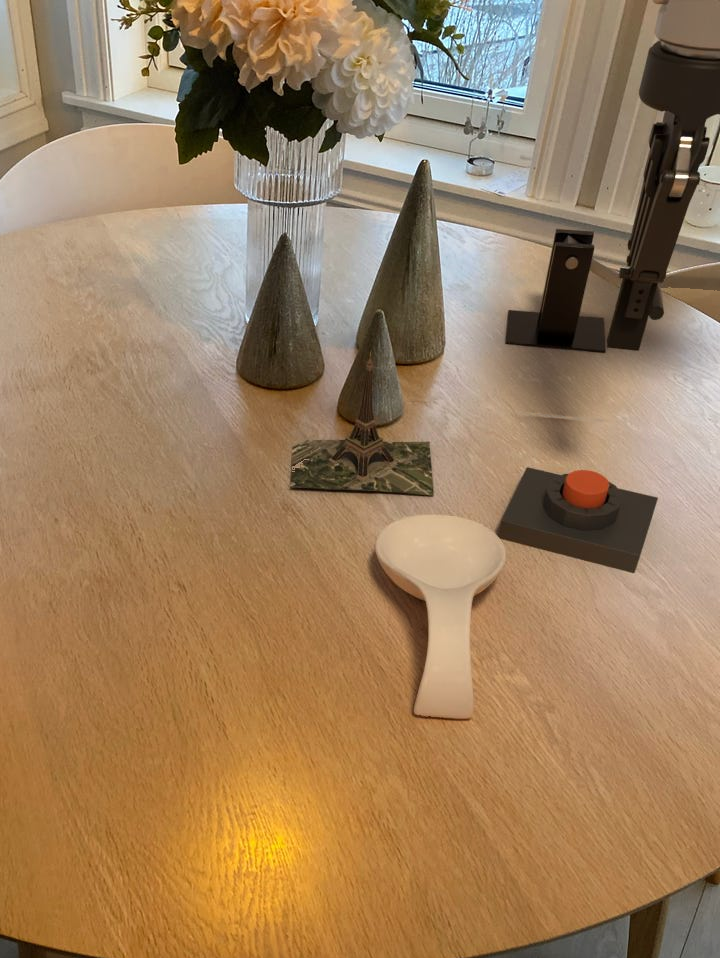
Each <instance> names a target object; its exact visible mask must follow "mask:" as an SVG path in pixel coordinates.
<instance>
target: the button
mask: <svg viewBox="0 0 720 958" xmlns="http://www.w3.org/2000/svg"><path fill="white" fill-rule="evenodd" d="M567 474H568V476H567V477H566V480H565V484H564V488H563V492H562V495H563V498H564V499H565V500H566V501H567V502H569V503H570V504H572V505H575V506H580V507H584V508H596V507H600V506H601V505H603V503H604V502H605V499H606V496H607V492H608V489H609V482H610V481H609V480H608V478H607V477H606V476H604V475H603V474H601V473H599V472H597V471H593V470H588V469H578V470H574V471H571V472H570V473H567ZM608 481H609V482H608Z"/></svg>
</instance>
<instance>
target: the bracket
mask: <svg viewBox="0 0 720 958" xmlns="http://www.w3.org/2000/svg"><path fill="white" fill-rule="evenodd" d="M568 235H569V236H570V237H572V238H574V239H576V240H577V241H579V242H581V243H582V244H576V243H563V242H564V240H565V239H566V238H567V236H568ZM594 236H595V232H594V230H593V231H592V230H577V229H564V228H562V229H561V228H555V231H554V237H553V242H552V247H551V250H550V251H551V252H550V255H549V256H550V257H549V262H548V267H547V272H546V277H545V281H544V287H543V292H542V297H541V302H540V308H539V311H526V310H514V309H508V310H507V319H506V327H505V328H506V329H505V341H504V345H508V346H509V345H510V346H520V347H521V346H522V347H530V348H531V347H532V348H543V349H555V350H564V351H577V352H589V353H599V354H606V353H607V352H606V351H607V344H606V329H605V318H604V317H599V316H587V315H580V314H581V309H582V305H583V302H584V296H585V291H586V288H587V283H588V278H589V274H590V271H589V270H590V266H591V261H592V259H593V257H594V251H595V244H593V242H594V241H593V240H594Z"/></svg>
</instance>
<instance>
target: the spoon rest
mask: <svg viewBox="0 0 720 958" xmlns="http://www.w3.org/2000/svg"><path fill="white" fill-rule="evenodd" d="M374 550H375V551H374V552H375V555H376V557H377V560H378V562H379V564H380V566H381V568H382V569H383V571H384V572H385V573H386V575H387V576H388V577H389V579H390V580H391V581H392V582H393V583H394V584H395V585H397V587H399V588H400V589H401V590H403V591H404V592H406V593H408V594H409V595H411V596H413V597H414V598H416V599H418V600H421V601H422V602H425V606H426V614H427V625H428V626H427V627H428V628H427V629H428V632H427V633H428V635H427V636H428V637H427V638H428V639H427V651H426V657H425V663H424V667H423V673H422V675H421V680H420V683H419V687H418V691H417V694H416V698H415V701H414V706H413V714H415V715H416V716H419V715H421V716H420V717H428V716H431V718H442V717H443V718H444V719H457V720H458V719H459V720H462V719H463V720H464V719H471V718H473V716H474V712H475V711H474V709H475V694H474V692H475V691H474V682H473V670H472V655H471V654H472V653H471V626H472V625H471V621H472V608H473V607H472V606H473V599H474V597H475V596H476V595H478V594H480V593H481V592H483V591H484V590H485V589H487V588H488V587H489V586H491V584H492V583H494V581H495V580H496V579H497V578H498V577H499V576H500V574H501V573H502V572H503V569H504V568H505V566H506V562H507V556H508V555H507V549H506V546H505V544H504V543H503V541H502V539H500V538H499V537H498V534H496V533H495V532H494V531H493V530H491V529H490V528H489V527H487V526H486V525H483V524H482V523H480V522H477V521H475V520H472V519H470V518H466V517H462V516H456V515H452V514H439V513H438V514H435V513H433V514H431V513H427V514H426V513H423V514H415V515H409V516H404V517H402V518H399V519H396V520H394V521H392V522H390V523H389V524H387V525H386V526H385V527H384V528H382V529H381V531H380V532H379V533H378V535H377V537H376V539H375V543H374ZM443 718H442V719H443Z"/></svg>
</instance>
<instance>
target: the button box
mask: <svg viewBox="0 0 720 958" xmlns="http://www.w3.org/2000/svg"><path fill="white" fill-rule="evenodd" d="M568 474H569V473H562V474H558V473H554V472H549V471H545V470H541V469H537V468H532V467H528V466H527V467H526V468H525V469H524V472H523V474H522V476H521V478H520V479H519V482H518V484H517V487H516V488H515V490H514V493H513V495H512V497H511V499H510V501H509V503H508V504H507V507H506V509H505V511H504V513H503V515H502V517H501V519H500V522H499V528H498V531H497V536H498V537H499V538H500V539H501V540H503V541H507V542H511V543H515V544H519V545H523V546H527V547H531V548H535V549H538V550H541V551H546V552H549V553H554V554H557V555H562V556H565V557H569V558H573V559H577V560H581V561H585V562H589V563H593V564H596V565H601V566H604V567H606V568H607V567H608V568H612V569H615V570H619V571H623V572H628V573H631V574H636V570H637V567H638V564H639V561H640V558H641V556H642V552H643V549H644V545H645V542H646V538H647V535H648V532H649V529H650V526H651V523H652V520H653V516H654V513H655V509H656V506H657V503H658V499H659V497H657V496H653V495H648V494H645V493H640V492H636V491H631V490H628V489H622V488H619V487H618V486H617V485H615V484H614V483H612V482H611V481H609V480H608V482H609V489H608V492H607V496H606V499H605V502H604V503H603V505H601V506H600V507H596V508H584V507H580V506H575V505H572V504H570V503H569V502H567V501H566V500H565V499H564V498H563V495H562V492H563V488H564V484H565V480H566V477H567V476H568Z"/></svg>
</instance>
